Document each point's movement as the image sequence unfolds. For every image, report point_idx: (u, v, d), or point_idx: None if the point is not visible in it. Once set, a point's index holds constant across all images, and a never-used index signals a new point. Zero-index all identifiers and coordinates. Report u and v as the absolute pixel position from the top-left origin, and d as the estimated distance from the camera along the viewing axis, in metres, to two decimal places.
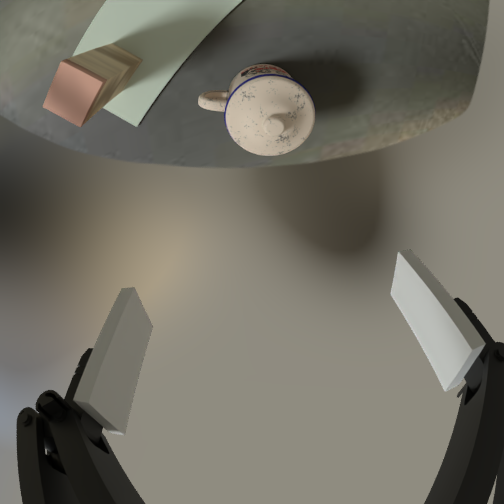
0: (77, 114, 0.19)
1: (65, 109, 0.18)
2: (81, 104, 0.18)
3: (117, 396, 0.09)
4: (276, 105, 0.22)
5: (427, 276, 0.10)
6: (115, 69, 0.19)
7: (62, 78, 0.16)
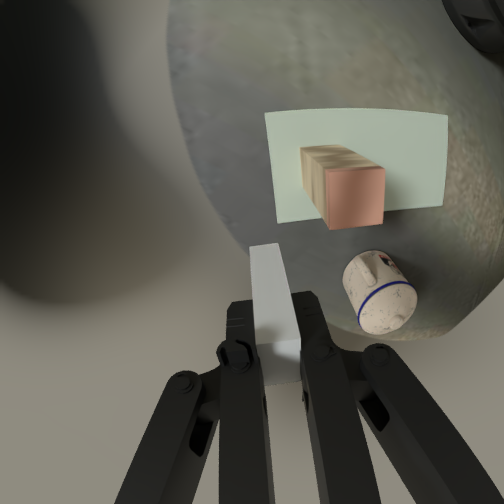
0: (342, 219, 0.22)
1: (340, 203, 0.21)
2: (354, 217, 0.22)
3: None
4: (405, 310, 0.31)
5: (275, 268, 0.12)
6: None
7: (370, 180, 0.20)
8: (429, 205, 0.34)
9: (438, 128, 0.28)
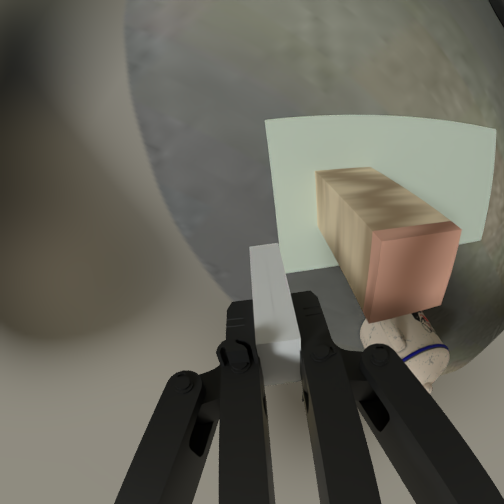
0: (388, 308, 0.13)
1: (391, 287, 0.12)
2: (406, 303, 0.13)
3: None
4: (435, 376, 0.22)
5: (275, 268, 0.12)
6: None
7: (439, 249, 0.11)
8: (468, 241, 0.25)
9: (486, 145, 0.19)
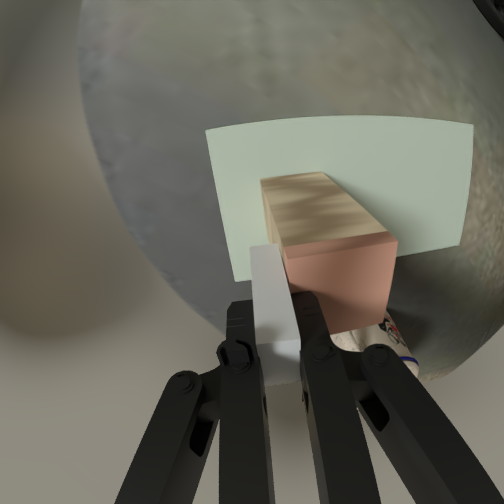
0: None
1: None
2: (335, 322, 0.13)
3: None
4: None
5: (275, 268, 0.12)
6: None
7: (368, 265, 0.11)
8: (443, 246, 0.25)
9: (461, 143, 0.19)
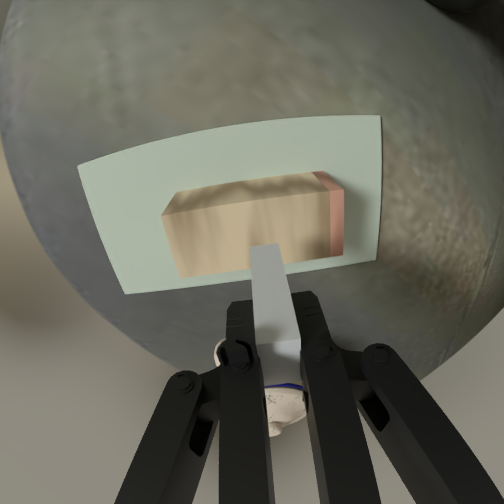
0: None
1: None
2: None
3: None
4: (286, 416, 0.22)
5: (275, 268, 0.12)
6: None
7: None
8: (351, 262, 0.26)
9: (361, 140, 0.20)
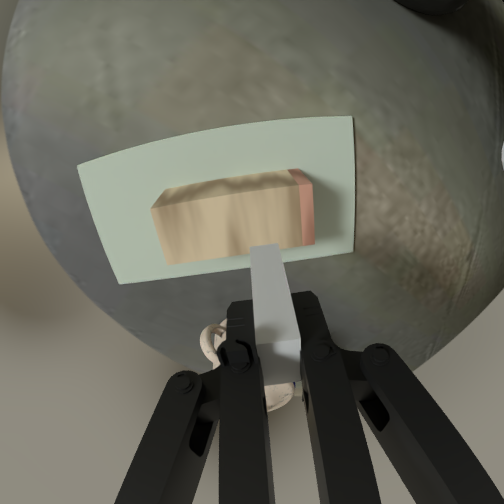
0: None
1: None
2: None
3: None
4: (267, 400, 0.24)
5: (275, 268, 0.12)
6: None
7: None
8: (328, 253, 0.28)
9: (333, 139, 0.22)
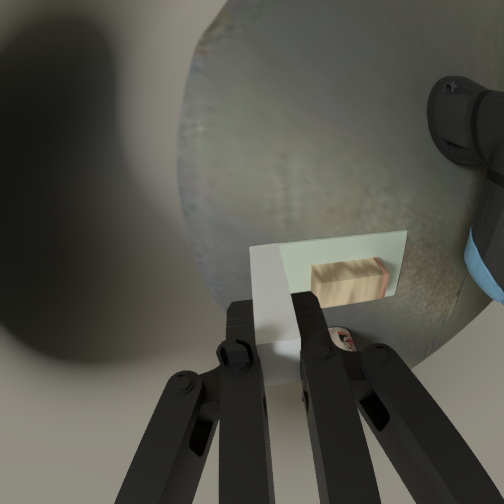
0: None
1: None
2: None
3: None
4: None
5: (275, 268, 0.12)
6: None
7: None
8: None
9: (396, 242, 0.43)
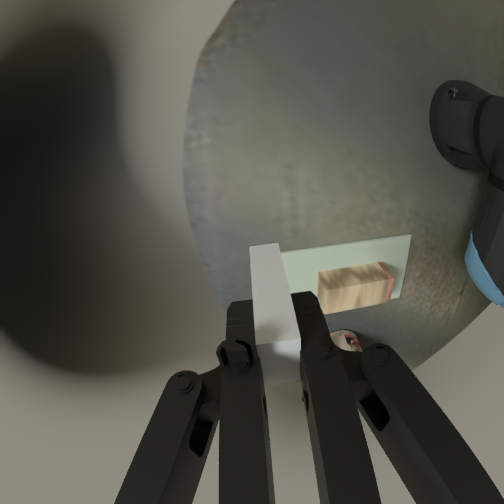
0: None
1: None
2: None
3: None
4: None
5: (276, 268, 0.12)
6: None
7: None
8: None
9: (401, 246, 0.43)
